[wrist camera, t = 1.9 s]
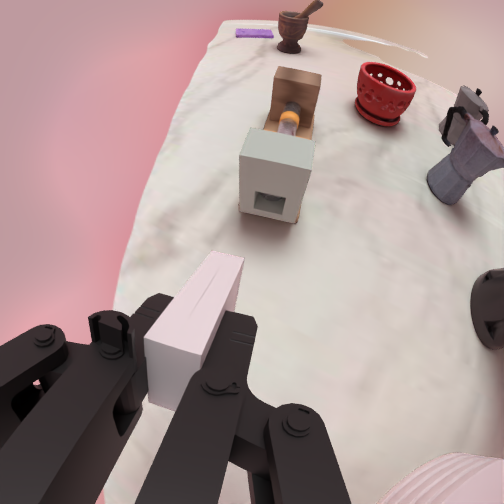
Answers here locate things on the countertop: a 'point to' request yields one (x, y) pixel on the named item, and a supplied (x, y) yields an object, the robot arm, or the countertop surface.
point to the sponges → (254, 33)
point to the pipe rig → (292, 107)
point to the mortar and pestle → (294, 27)
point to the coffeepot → (472, 106)
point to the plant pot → (383, 94)
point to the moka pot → (465, 157)
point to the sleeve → (274, 173)
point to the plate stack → (451, 482)
